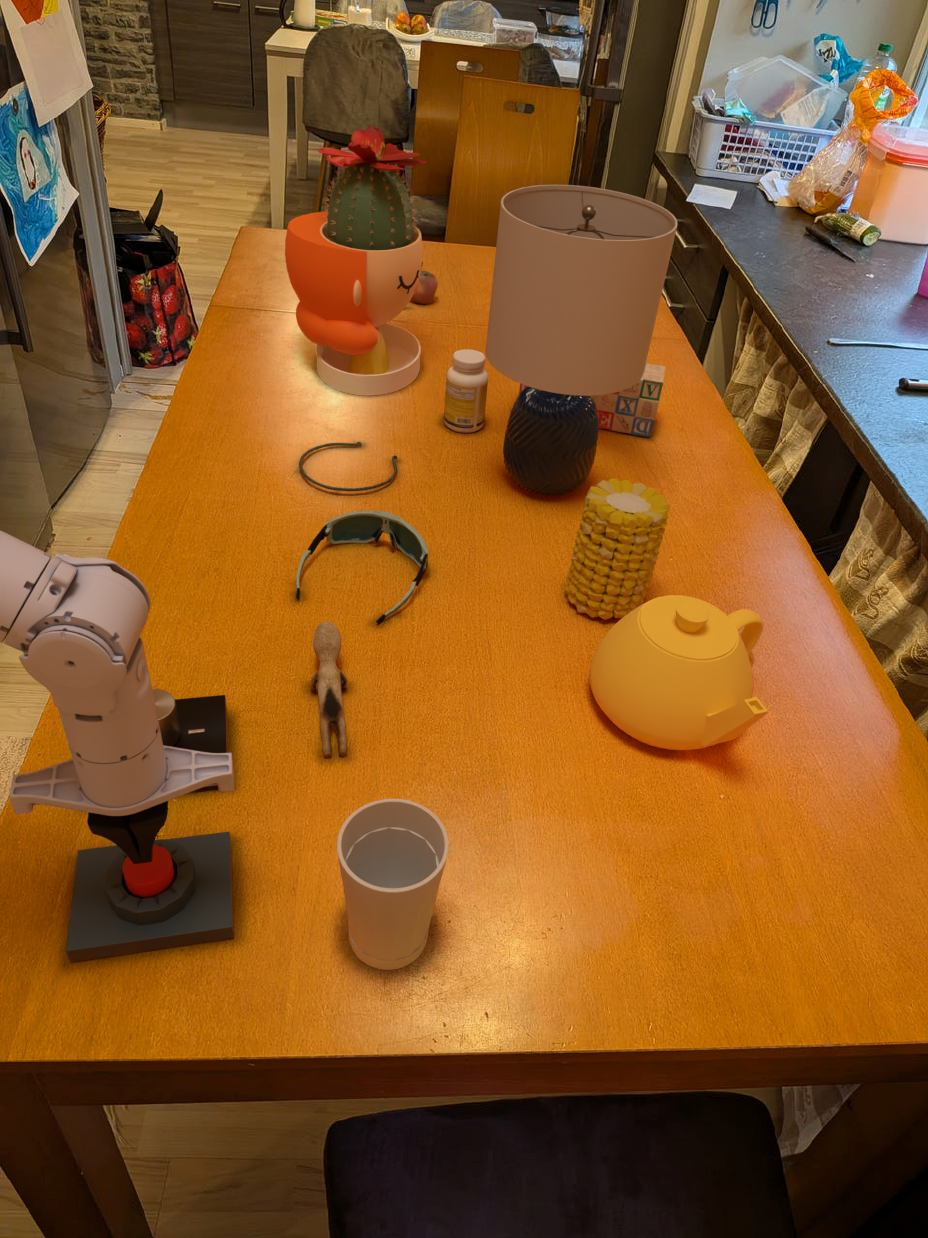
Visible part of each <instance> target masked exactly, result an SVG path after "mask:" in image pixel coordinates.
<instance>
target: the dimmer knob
mask: <svg viewBox="0 0 928 1238" xmlns="http://www.w3.org/2000/svg"><path fill="white" fill-rule="evenodd" d="M152 690H153V695H154V700H155V705H156V711H157V716H158V721H159V726H160V732H161V737H162V742H163V745H164V746H170V747H172V746H173V745H174V744H175V743H176V742H177V741H178V739H179V737H180V734H181V731H180V725H179V720H178V714H177V709H176V703H175V699H176V698H175V697H174V696H173V694H172V693H170V692H169V691H167V690H164V689H159V688H152Z"/></svg>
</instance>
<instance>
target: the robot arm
mask: <svg viewBox="0 0 928 1238" xmlns="http://www.w3.org/2000/svg"><path fill="white" fill-rule="evenodd" d="M150 610H151V598H150V594H149V591H148V590H147V588H146V587H145V585H144V583H143V582H142V581H141V579H139V578H138V576H136V575H135V574H133V572H131V571H129V570H128V569H126V568H124V567H123V566H121V565H120V564H119V563H118V562H116V561H115V560H111V559H108V558H102V557H94V556H93V557H92V556H91V557H89V556H87V557H75V556H71V555H70V554H67V553H65V552H64V553H63V554H61V553H57V552H56V553H55V555H54V556H53V555H52V554H50V553H47V552H45V551H44V550H41V549H39V548H37V547H35V546H34V545H31V544H29V543H27V542H25V541H23V540H21V539H20V538H17V537H15V536H13V535H11V534H9V533H7V532H4V531H2V530H1V529H0V643H2V644H4V645H6V646H8V647H11V648H13V649H16V650H18V651H20V652H22V654H21V655H19V656H18V660H19V661H20V663H21V665H22V667H23V669H24V670H25V671H26V673H27V674H28V675H29V676H31V678H32V679H33V680H35V681H36V682H38V683H39V684H40V685H42V686H43V687H44V688H46V690H48V692H49V693H50V695H51V697H52V698H51V699H52V701H53V704H54V706H55V707H57V710H58V714H59V717H60V720H61V724H62V727H63V731H64V734H65V738H66V741H67V745H68V748H69V751H70V755H71V758H70V759H67V760H64V761H61V762H58V763H56V764H53V765H50V766H47V767H43V768H41V769H37V770H34V771H29V772H24V773H17V774H13V775H12V781H11V785H10V790H9V795H8V798H9V801H10V804H11V806H12V809H13V812H14V814H15V815H23V814H24V815H25V814H29V813H32V812H33V810H34V806H39V805H44V806H49V807H50V806H51V807H55V808H60V809H61V808H62V809H66V810H67V809H68V810H73V811H79V812H85V813H87V820H86V822H87V827H88V828H89V831H90V832H91V834H93V835H95V836H98V837H101V838H104V839H106V840H108V841H109V842H112V843H113V844H114V845H115V846H116V845H117V846H118V847H119V848H120V849H121V850H122V851H123V852H124V853H125V854H126V855H127V856H128V857H129V859H130V860H131V861H132V863H133V864H140V863H148V862H151V861H152V857H153V844H154V841H155V840H156V838H157V836H158V834H159V832H160V831H161V829H163V827H164V826H165V825H166V822H167V819H168V813H169V801H171V800H173V799H176V798H178V797H181V796H184V795H186V794H190V793H193V792H192V791H194V790H197V789H199V788H202V787H205V786H214V785H218V789H217V790H218V791H219V792H222V793H223V792H232V791H234V790H235V772H234V771H235V770H234V762H233V761H234V760H233V754H232V752H229V753H207V752H200V751H194V750H188V749H182V748H176V747H170V746H164V745H163V742H162V737H161V732H160V726H159V721H158V716H157V711H156V705H155V700H154V695H153V690H152V689H153V686H152V679H151V675H150V670H149V667H148V663H147V656H146V652H145V646H144V641H143V639H142V638H141V634H142V633H143V630H144V628H145V626H146V624H147V620H148V617H149V613H150ZM189 792H190V793H189Z"/></svg>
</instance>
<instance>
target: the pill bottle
mask: <svg viewBox="0 0 928 1238" xmlns="http://www.w3.org/2000/svg"><path fill="white" fill-rule="evenodd" d="M485 364H486V355H485V354H484V353H483V352H481V351H479V350H476V349H471V348H470V349H469V348H467V349H466V348H465V349H459V350H456V351H455V352H453V354H452V365H451V366H450V367H449V368H448V369H447V372H446V379H445V393H444V408H443V409H444V410H443V423H444V425H445V426H446V427H447V428H448V429H450V430H452V431H454V432H457V433H463V434H464V433H466V434H468V433H475V432H478V431H480V430H481V429H482V428H483V427H484V424H485V415H486V405H487V394H488V383H489V375H488V374H489V373H488V372H487V371H486V369H485V366H486V365H485Z"/></svg>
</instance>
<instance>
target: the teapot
mask: <svg viewBox="0 0 928 1238" xmlns="http://www.w3.org/2000/svg"><path fill="white" fill-rule="evenodd" d="M740 630H742V631H741V633H740ZM763 630H764V621H763V619H762V618H761V617H760V615H759V614H758V613H756V612H755V611H753V610H751V609H747V608H741V609H738V610H735V611H733V612H731V613H729V614H728V615H727V613H725V612H724V611H722V610H721V609H720V608H718V607H717V606H716V605H713V604H712V603H711V602H710V603H709V602H707V601H705V600H703V599H700V598H697V597H694V596H689V595H682V594H681V595H680V594H668V595H661V596H658V597H654V598H652V599H650V600H648V601H646V602H643V603H642V604H641V605H640V606H639V607H637V608H636V609H634V610H633V611H631V612H630V613H628V614H627V615H625V616H624V617H623V618H620V619H619V620H618V621H617V622H616V623H614V625H612V626H611V628H610V629H609V630H608V631H607V632H606V634H605V635H604V636H603V638H602V639H601V641H600V642H599V644H598V646H597V648H596V650H595V651H594V654H593V657H592V659H591V663H590V666H589V672H588V673H589V674H588V677H589V679H588V680H589V685H590V690H591V692H592V695H593V697H594V700H595V702H596V703H597V705H598V706H599V708H600V710H602V712H603V713H604V715H606V717H607V718H608V719H609V720H610V721H611V722H612V723H613V724H614V725H615V726H616V727H617V728H618V729H620V730H621V731H622V732H623V733H625V734H627V735H628V736H629V737H631V738H632V739H634V740H636V741H639V742H640V743H642V744H645V745H647V746H651V747H654V748H657V749H664V750H669V751H693V750H699V749H705V748H707V747H712V746H716V745H718V744H721V743H726V742H730V741H733V740H735V739H737V738H738V737H739V736H741V735H742V734H744V732H746V731H747V730H748V729H750V728H751V727H752V726H754V725H755V724H756V723H757V722H758V721H759V720H761V719H762V718H763V717H765V716H766V715H767V714H768V713H769V710H768V709H767V708H766V707H765V705H764V704H763V703H762V702H761V700H760V699H759V698H758V696H753V691H754V689H753V688H754V680H753V669H752V667H753V666H754V663H755V656H754V653H753V650H754V648H755V646H756V644H757V643H758V641H759V639H760V637H761V636H762V633H763Z"/></svg>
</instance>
